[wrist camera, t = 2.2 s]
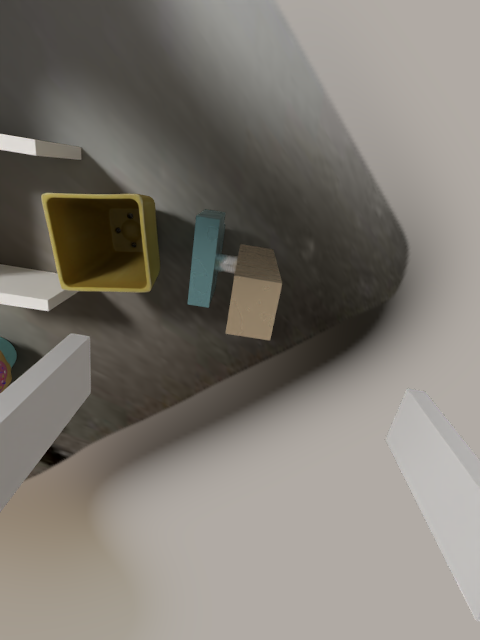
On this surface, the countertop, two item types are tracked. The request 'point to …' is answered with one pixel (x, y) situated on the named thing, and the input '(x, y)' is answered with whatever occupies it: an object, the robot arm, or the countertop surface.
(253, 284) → the rod
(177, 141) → the countertop surface
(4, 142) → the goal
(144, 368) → the countertop surface
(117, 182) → the countertop surface
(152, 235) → the flower pot
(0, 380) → the cupcake
